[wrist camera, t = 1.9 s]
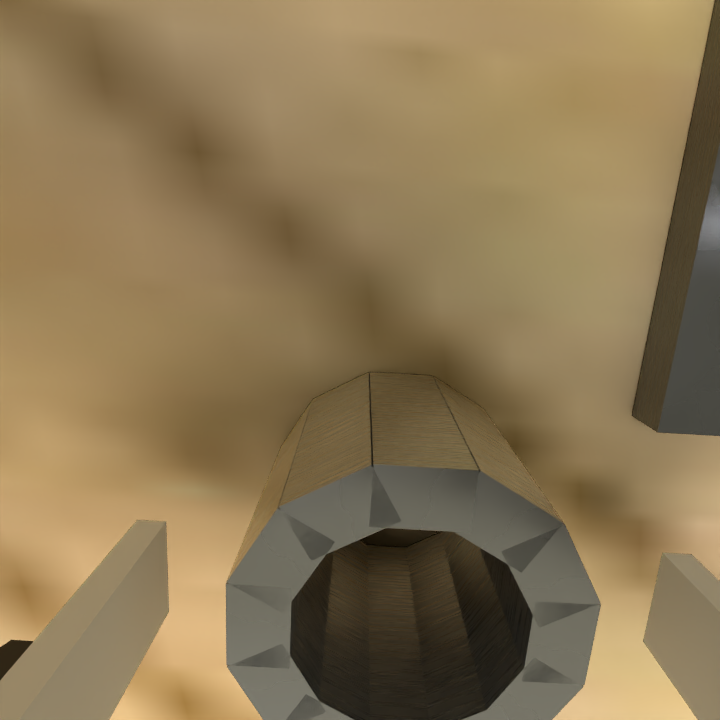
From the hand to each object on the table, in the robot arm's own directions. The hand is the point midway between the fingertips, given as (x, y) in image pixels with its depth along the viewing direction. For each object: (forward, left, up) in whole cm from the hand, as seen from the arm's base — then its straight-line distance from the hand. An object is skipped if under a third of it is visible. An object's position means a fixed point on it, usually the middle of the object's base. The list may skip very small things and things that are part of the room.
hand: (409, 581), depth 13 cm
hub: (0, 0, -5) cm, 5 cm away
